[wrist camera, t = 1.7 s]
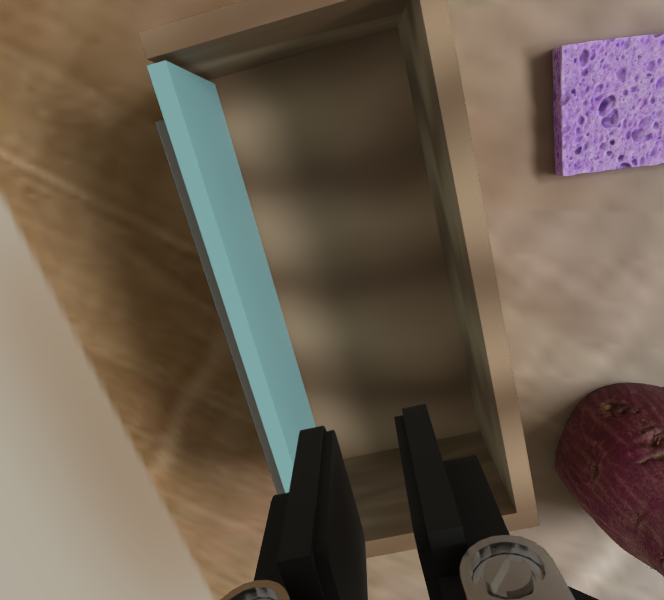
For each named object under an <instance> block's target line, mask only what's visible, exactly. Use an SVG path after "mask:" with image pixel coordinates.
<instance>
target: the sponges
mask: <svg viewBox="0 0 664 600" xmlns="http://www.w3.org/2000/svg"><path fill="white" fill-rule="evenodd" d="M552 52H553V87H554V91H553V103H554V108H553V111H554V146H555V153H554V158H555V172H556V174H557V175H562V176H572V175H576V174H581V173H593V172H600V171H605V170H615V169H621V168H634V167H640V166H652V165H658V164H664V33H661V34H656V35H652V34H650V35H640V36H631V37H622V38H614V39H605V40H595V41H588V42H582V43H575V44H567V45H562V46H560V47H556V48H554V49H553V51H552Z"/></svg>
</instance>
